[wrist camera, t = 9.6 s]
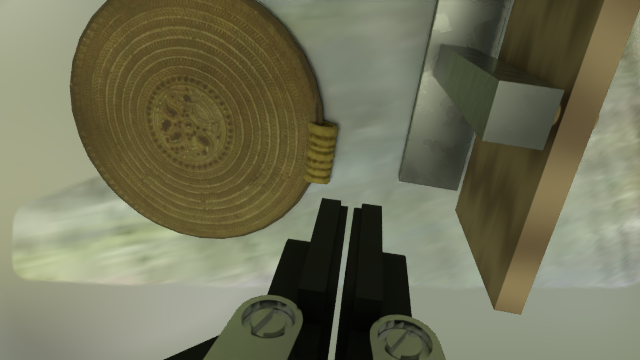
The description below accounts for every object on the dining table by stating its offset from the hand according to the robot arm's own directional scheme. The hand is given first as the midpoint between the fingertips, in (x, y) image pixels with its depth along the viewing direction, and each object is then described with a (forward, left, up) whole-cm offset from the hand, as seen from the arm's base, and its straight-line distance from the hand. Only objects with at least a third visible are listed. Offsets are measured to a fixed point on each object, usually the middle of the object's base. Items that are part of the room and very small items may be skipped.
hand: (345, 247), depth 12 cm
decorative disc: (+8, -17, -34) cm, 38 cm away
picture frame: (-2, +11, -26) cm, 28 cm away
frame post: (-2, +8, -33) cm, 34 cm away
